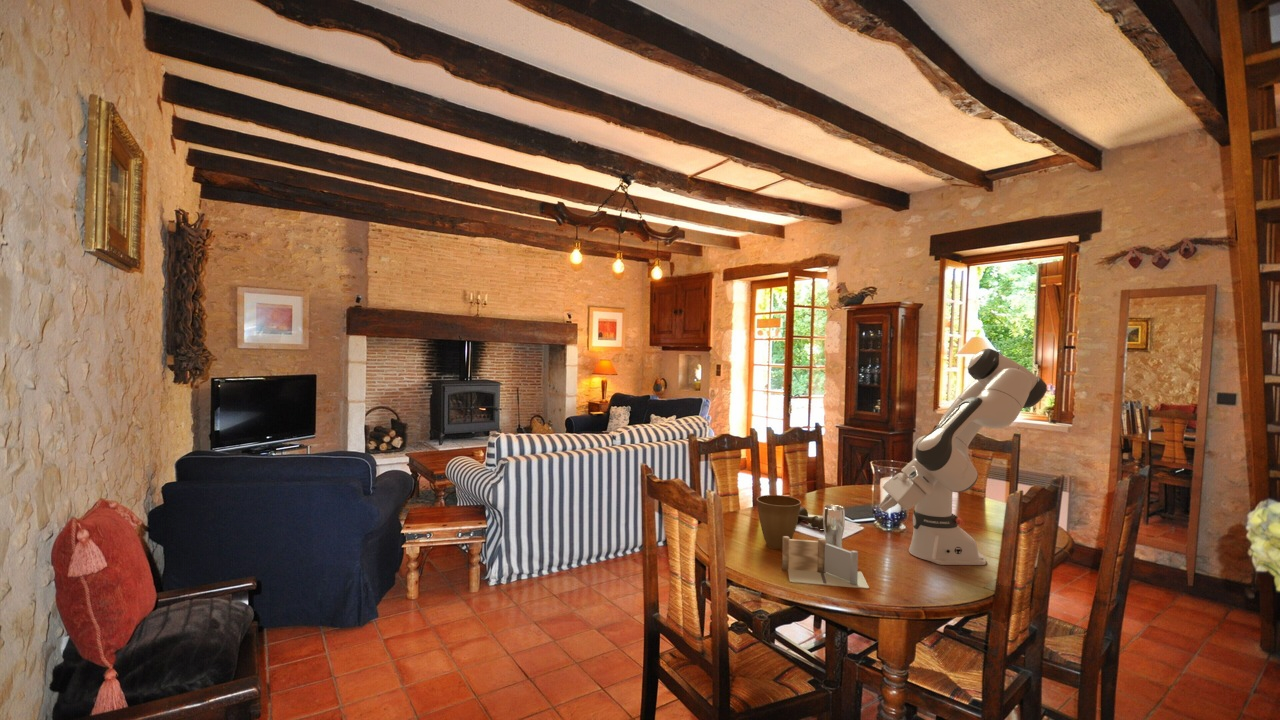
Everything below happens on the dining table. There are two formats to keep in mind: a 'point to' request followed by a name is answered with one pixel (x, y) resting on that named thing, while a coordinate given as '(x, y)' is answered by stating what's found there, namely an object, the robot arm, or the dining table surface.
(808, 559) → the fence fixed section
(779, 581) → the dining table surface
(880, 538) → the dining table surface
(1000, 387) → the robot arm
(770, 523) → the plant pot
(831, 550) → the fence gate
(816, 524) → the kendama
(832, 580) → the card
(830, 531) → the beer glass
